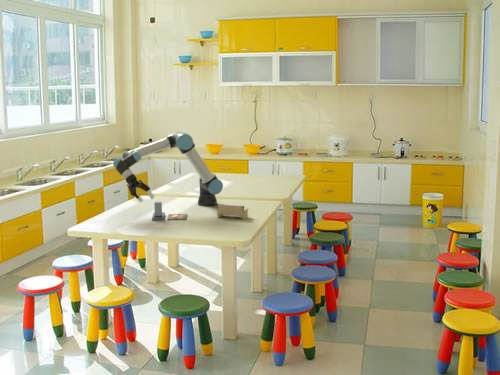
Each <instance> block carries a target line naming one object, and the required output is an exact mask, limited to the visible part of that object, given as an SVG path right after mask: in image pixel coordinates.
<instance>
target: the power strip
mask: <svg viewBox="0 0 500 375" xmlns="http://www.w3.org/2000/svg"><path fill="white" fill-rule="evenodd" d="M165 217H166V212H164V211H162V216H161V217H156V216H155V212H153V214H152V217H151V221H152V222H157V221H159V222H161V221H164V220H165Z"/></svg>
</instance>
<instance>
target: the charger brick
mask: <svg viewBox="0 0 500 375" xmlns="http://www.w3.org/2000/svg"><path fill="white" fill-rule="evenodd" d="M153 204H154V213H155V216H156V217H161V216H162V212H163V203H162V201H154V203H153Z"/></svg>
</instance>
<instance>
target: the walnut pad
mask: <svg viewBox="0 0 500 375" xmlns="http://www.w3.org/2000/svg"><path fill="white" fill-rule="evenodd" d="M187 216H188V213H174V214H172V213H171V214H168V215H167V219H166V220H167V221H187Z"/></svg>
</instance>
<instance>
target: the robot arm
mask: <svg viewBox="0 0 500 375" xmlns="http://www.w3.org/2000/svg"><path fill="white" fill-rule="evenodd" d="M174 148H177V149H178V150H179V151H180V153H181V154H182V155H185V156H186V158H187V159H188V161H189V162H190V164H191V165H192V167H193V168H194V170H195V171H196V173H197V174H198V175H199V196H198V199H197V205H198V206H201V207H204V206H205V207H211V206H216V205H218V200H217V196H216V195H219V194H220V193H221V192H222V190H223V187H224V184H223V182H222V181H221V180H220V179H219V178H218V177H217V176H216V174H215V173H213V172H211V170H210V168H209V167H208V165H207V164H206V163H205V161H204V159H203V158H202V157H201V155H200V154H199V153H198V151H197V149H196V144H195V142H194V139H193V137H192V136H191V135H190V134H189V133H186V132H181V131H177V132H174V133H172V134H169V135H167V136H164V138H162V139H159V140H157V141H154V142H151V143H148V144H146V145H142V146H139V147H136V148H135V149H132V150H125V151H123V152H122V154H121V157H118V158H116V159H115V160H114V161H113V164H112V165H113V167H114V169H115V170H116V171H117V172H118V173H119V175H120V176H121V177H122V178H123V180H124V181H125V183H127V184H126V186H127V187H128V190H129V194H130V196H132V197H135V198H136V199H137V201H139V203H142V202H143V201H144V199H143V198H142V197H141V196H140V194H139V193H138V192H137V189H141V190H142V191H145V192H146V194H147V195H148V197H149V198H150V199H151V200H153V199H154V198H155V195H154V193H152V191H151V187H150V186H149V185H148V184H146V183H144V182H143V181H142V180H141V179H139V180H138V177H137V176H136V175H135V173H134V172H133V171H132V170H131V169H130V168H131V167H132V166H134V165H135V164H136V163H138V162H140V161H141V160H142V158H144V157H147V156H150V155H153V154H155V153H158V152H161V151H163V150H167V149H169V150H170V149H171V150H172V149H174Z"/></svg>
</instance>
